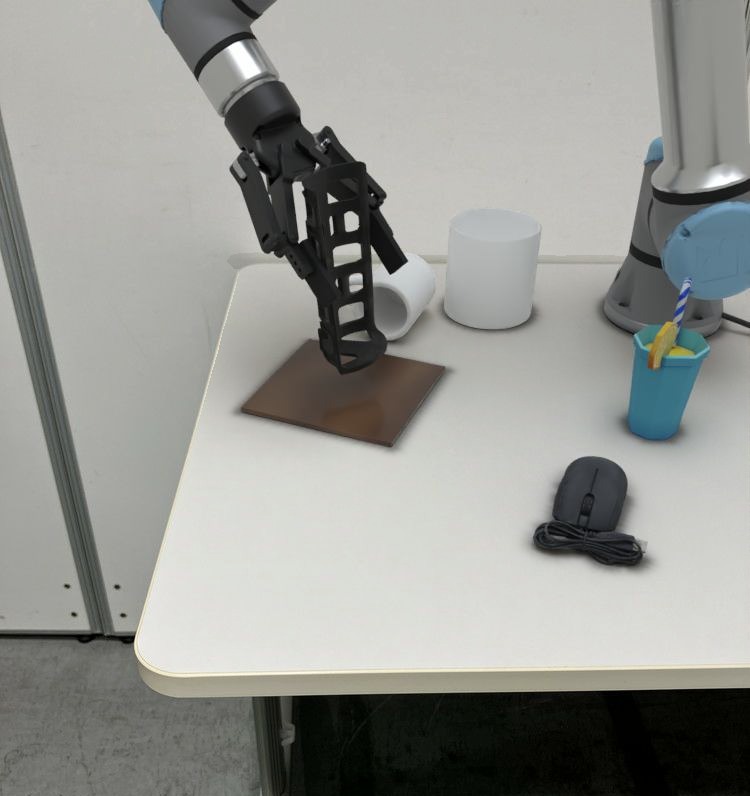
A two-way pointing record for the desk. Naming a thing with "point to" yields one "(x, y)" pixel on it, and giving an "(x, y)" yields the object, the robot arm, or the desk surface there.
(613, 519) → the computer mouse
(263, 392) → the board
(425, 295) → the mug
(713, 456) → the desk surface
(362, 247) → the holder
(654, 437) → the cup
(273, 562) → the desk surface
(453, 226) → the cup
